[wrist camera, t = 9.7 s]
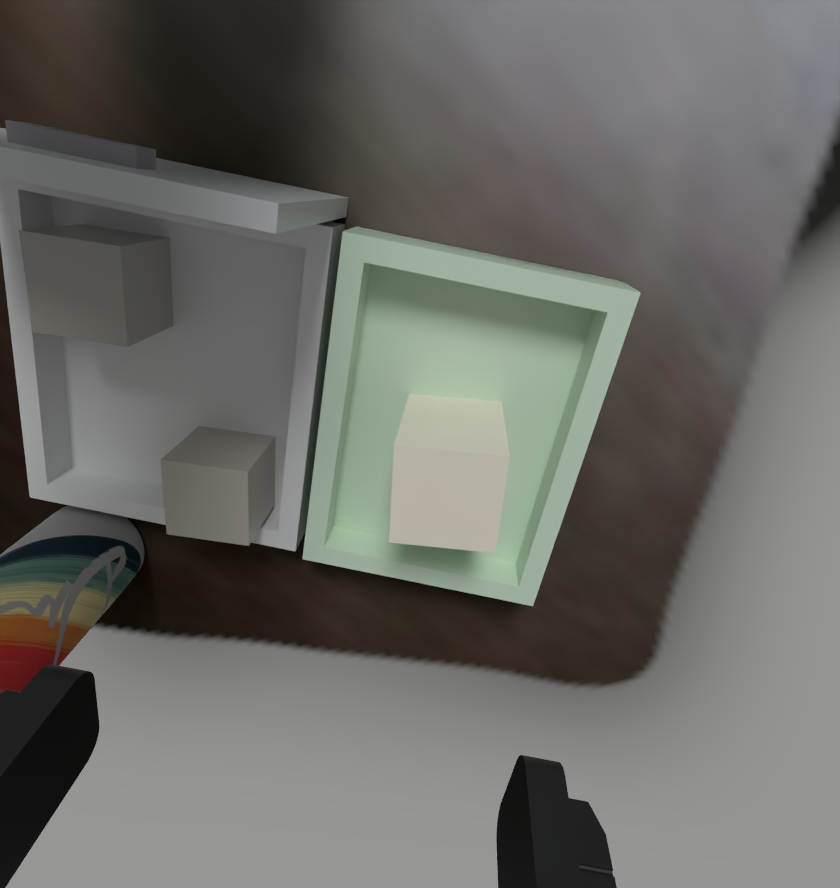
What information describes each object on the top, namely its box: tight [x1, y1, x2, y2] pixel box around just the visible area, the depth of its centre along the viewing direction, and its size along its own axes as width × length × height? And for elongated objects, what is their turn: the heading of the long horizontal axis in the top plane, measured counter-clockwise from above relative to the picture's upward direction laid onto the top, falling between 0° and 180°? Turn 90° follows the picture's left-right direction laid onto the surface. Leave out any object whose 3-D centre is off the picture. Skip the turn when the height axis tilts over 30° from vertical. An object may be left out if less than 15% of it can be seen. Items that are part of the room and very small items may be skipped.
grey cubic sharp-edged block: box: [19, 224, 173, 347], centre depth 25 cm, size 4×4×4 cm
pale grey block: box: [160, 426, 275, 546], centre depth 28 cm, size 4×4×4 cm
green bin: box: [302, 226, 640, 606], centre depth 27 cm, size 16×12×3 cm
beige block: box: [389, 394, 510, 553], centre depth 25 cm, size 4×4×6 cm
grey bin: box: [0, 177, 345, 552], centre depth 27 cm, size 16×14×2 cm
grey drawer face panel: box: [0, 120, 349, 234], centre depth 20 cm, size 1×14×10 cm, turn 79°
